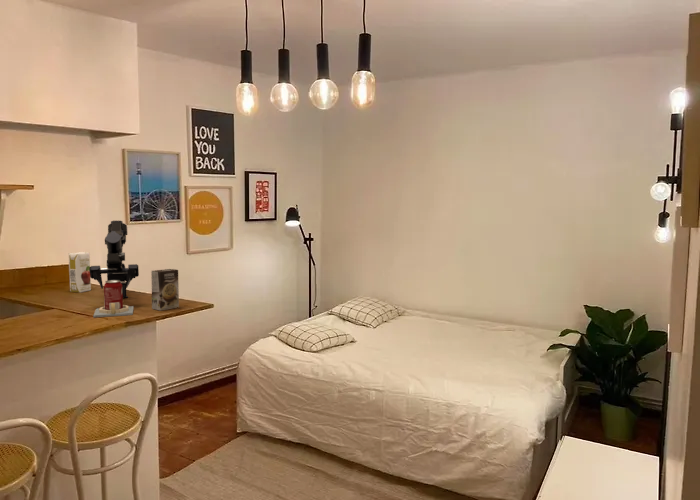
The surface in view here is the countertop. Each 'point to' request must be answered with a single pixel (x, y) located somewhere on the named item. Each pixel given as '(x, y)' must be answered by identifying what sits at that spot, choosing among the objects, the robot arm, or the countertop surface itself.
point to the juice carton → (79, 272)
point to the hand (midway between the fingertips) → (114, 287)
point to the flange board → (113, 311)
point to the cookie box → (165, 289)
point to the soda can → (113, 294)
